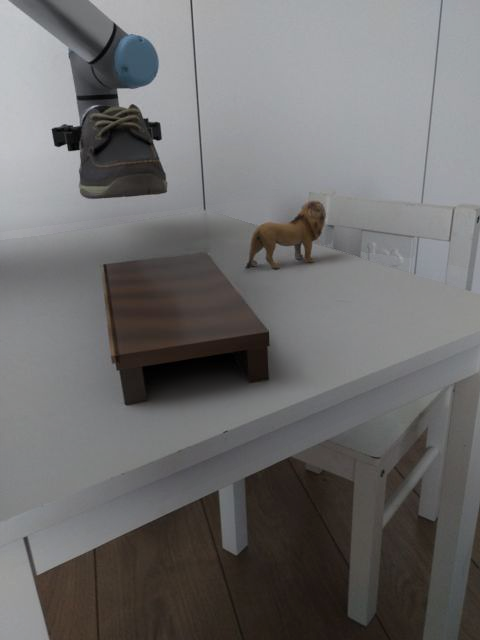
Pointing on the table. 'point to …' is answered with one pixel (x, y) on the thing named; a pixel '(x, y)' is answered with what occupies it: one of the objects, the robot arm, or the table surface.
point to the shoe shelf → (177, 318)
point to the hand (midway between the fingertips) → (111, 137)
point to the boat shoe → (118, 156)
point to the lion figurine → (289, 234)
